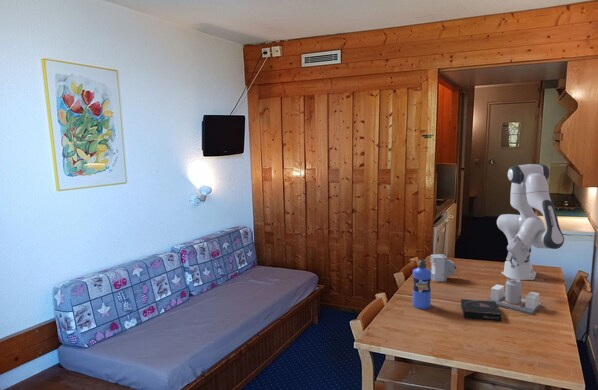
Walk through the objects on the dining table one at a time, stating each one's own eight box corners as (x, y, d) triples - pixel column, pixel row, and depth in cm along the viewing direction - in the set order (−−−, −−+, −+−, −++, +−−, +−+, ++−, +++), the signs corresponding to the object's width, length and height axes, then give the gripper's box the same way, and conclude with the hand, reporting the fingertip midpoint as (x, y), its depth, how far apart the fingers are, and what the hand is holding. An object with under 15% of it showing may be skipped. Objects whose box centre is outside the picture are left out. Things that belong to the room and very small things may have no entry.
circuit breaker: (456, 281, 256) (457, 257, 254) (433, 281, 256) (433, 257, 254) (452, 277, 263) (453, 254, 261) (429, 277, 264) (430, 254, 262)
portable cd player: (494, 308, 215) (495, 301, 215) (501, 322, 199) (501, 314, 198) (460, 305, 220) (460, 298, 219) (464, 319, 203) (464, 311, 203)
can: (504, 303, 216) (505, 281, 215) (505, 298, 223) (506, 276, 221) (521, 306, 213) (522, 283, 211) (521, 300, 219) (522, 278, 218)
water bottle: (431, 309, 215) (432, 262, 211) (413, 308, 216) (413, 262, 213) (429, 302, 224) (430, 257, 220) (411, 301, 226) (412, 257, 222)
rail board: (497, 295, 231) (497, 282, 230) (541, 305, 216) (541, 292, 215) (486, 303, 221) (486, 290, 220) (531, 314, 205) (532, 300, 204)
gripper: (523, 236, 220) (510, 258, 218) (532, 252, 233) (520, 273, 231) (511, 232, 225) (499, 254, 222) (520, 248, 238) (509, 269, 235)
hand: (510, 264), depth 227 cm, fingers open, 8 cm apart
